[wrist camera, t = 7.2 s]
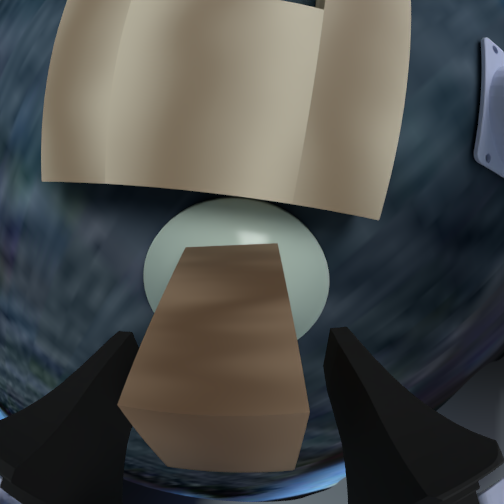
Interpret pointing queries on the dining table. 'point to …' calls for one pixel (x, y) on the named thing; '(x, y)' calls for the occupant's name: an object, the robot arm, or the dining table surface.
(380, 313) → the dining table surface
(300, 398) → the walnut block
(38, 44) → the dining table surface
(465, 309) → the dining table surface
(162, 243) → the coaster
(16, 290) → the dining table surface
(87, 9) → the board
